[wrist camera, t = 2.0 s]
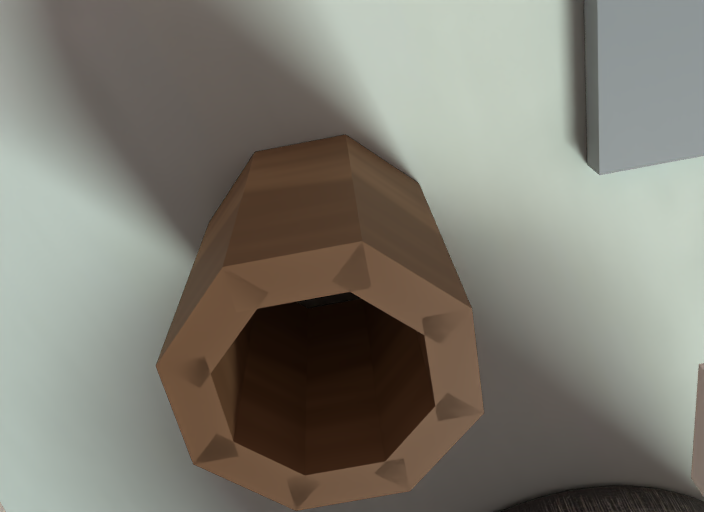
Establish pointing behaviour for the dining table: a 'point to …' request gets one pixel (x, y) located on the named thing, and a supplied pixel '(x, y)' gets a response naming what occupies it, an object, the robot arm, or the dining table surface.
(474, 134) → the dining table surface
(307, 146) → the collar
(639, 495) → the planter
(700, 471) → the robot arm
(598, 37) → the post block
